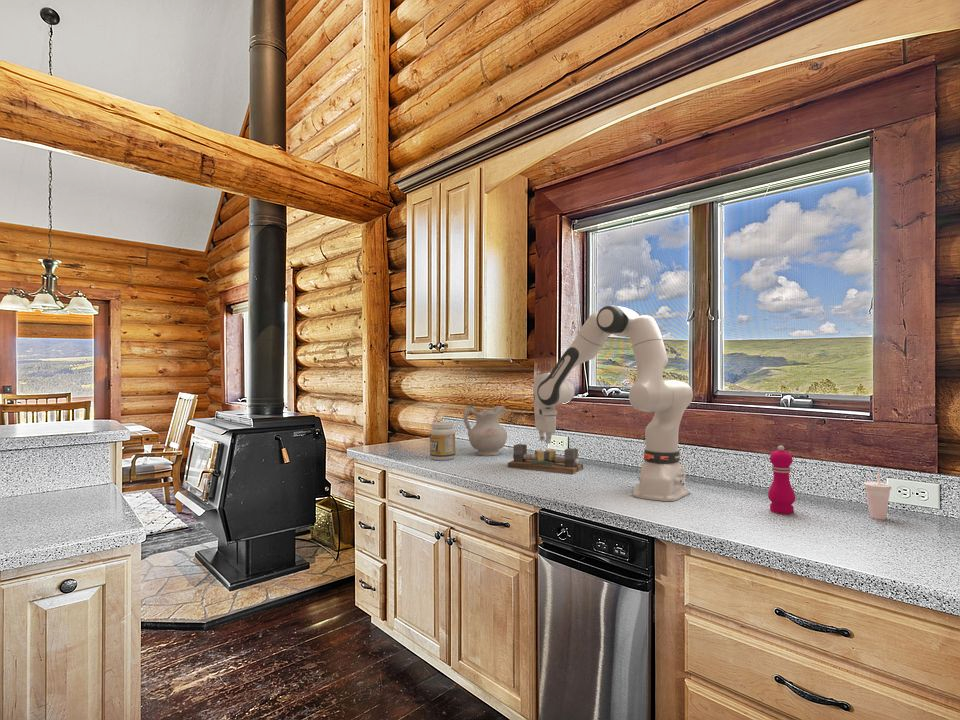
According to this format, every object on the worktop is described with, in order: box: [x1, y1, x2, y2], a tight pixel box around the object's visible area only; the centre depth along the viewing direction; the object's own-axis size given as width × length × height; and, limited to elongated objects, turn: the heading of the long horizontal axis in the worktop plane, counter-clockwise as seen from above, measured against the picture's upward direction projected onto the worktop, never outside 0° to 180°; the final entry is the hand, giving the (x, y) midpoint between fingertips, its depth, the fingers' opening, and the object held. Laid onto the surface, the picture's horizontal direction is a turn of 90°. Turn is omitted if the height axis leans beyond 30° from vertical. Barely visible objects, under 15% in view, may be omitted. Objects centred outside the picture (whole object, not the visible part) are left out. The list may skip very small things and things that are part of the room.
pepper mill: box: [767, 445, 796, 515], centre depth 158 cm, size 7×7×20 cm
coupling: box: [534, 448, 557, 461], centre depth 225 cm, size 4×8×4 cm, turn 101°
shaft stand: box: [507, 443, 584, 475], centre depth 225 cm, size 12×30×9 cm, turn 59°
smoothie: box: [863, 468, 892, 521], centre depth 151 cm, size 6×6×14 cm
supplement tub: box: [429, 421, 456, 461], centre depth 250 cm, size 12×12×17 cm
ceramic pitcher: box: [462, 404, 508, 457], centre depth 260 cm, size 22×20×25 cm
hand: (545, 441), depth 225 cm, fingers open, 8 cm apart
